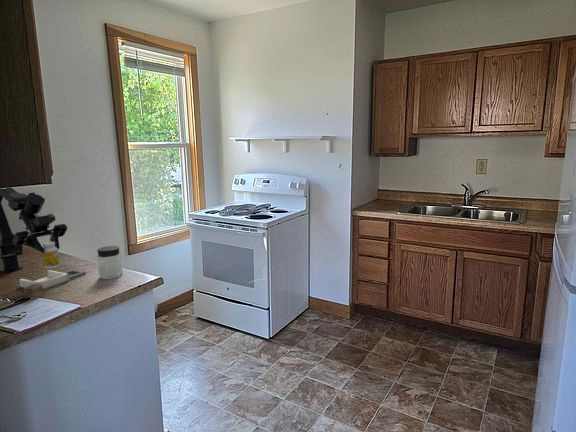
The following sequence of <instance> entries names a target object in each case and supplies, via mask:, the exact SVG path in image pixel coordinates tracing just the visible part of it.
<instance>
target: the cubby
mask: <svg viewBox="0 0 576 432" xmlns="http://www.w3.org/2000/svg"><path fill="white" fill-rule="evenodd" d="M47 275H48V276H45V277H42V278H38V279H36V280H29V279H26V278H20V279H18V281H19V285H20V286H19V287H20V288H23V289H24V288H26V287H28V286H30V285H42V287H43V291H45V290H47V289H49V288H53V287H55V286H59V285H61V284H64V283H68V282H70V280H69V274H67V273H64V272H61V271H55V270H50V269H48V270H47Z"/></svg>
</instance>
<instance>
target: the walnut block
mask: <svg viewBox="0 0 576 432" xmlns="http://www.w3.org/2000/svg"><path fill="white" fill-rule="evenodd" d="M23 294H24V295H23V296H24V299H25V298H33V299H32V300H36V299H35V298H37V299H39V298H40V297H43V296H44V290H43V287H42V285H30V286H28V287H26V288H24V287H23Z"/></svg>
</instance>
